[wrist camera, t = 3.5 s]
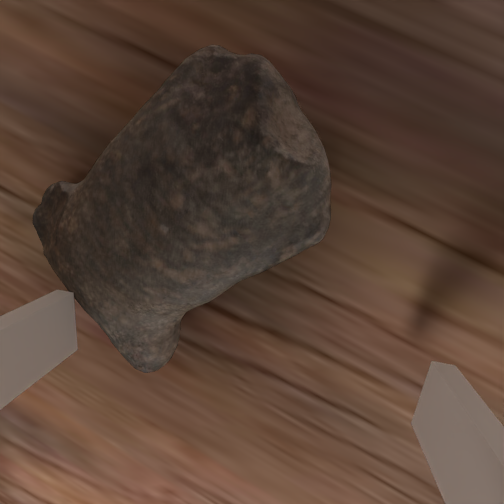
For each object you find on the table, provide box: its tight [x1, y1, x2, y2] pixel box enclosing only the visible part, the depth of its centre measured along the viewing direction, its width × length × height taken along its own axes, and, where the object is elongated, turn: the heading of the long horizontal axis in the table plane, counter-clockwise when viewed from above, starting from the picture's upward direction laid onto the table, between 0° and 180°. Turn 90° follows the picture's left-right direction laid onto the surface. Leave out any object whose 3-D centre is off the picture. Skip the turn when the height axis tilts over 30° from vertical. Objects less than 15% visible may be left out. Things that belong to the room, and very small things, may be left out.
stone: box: [33, 45, 331, 373], centre depth 12 cm, size 12×5×10 cm
